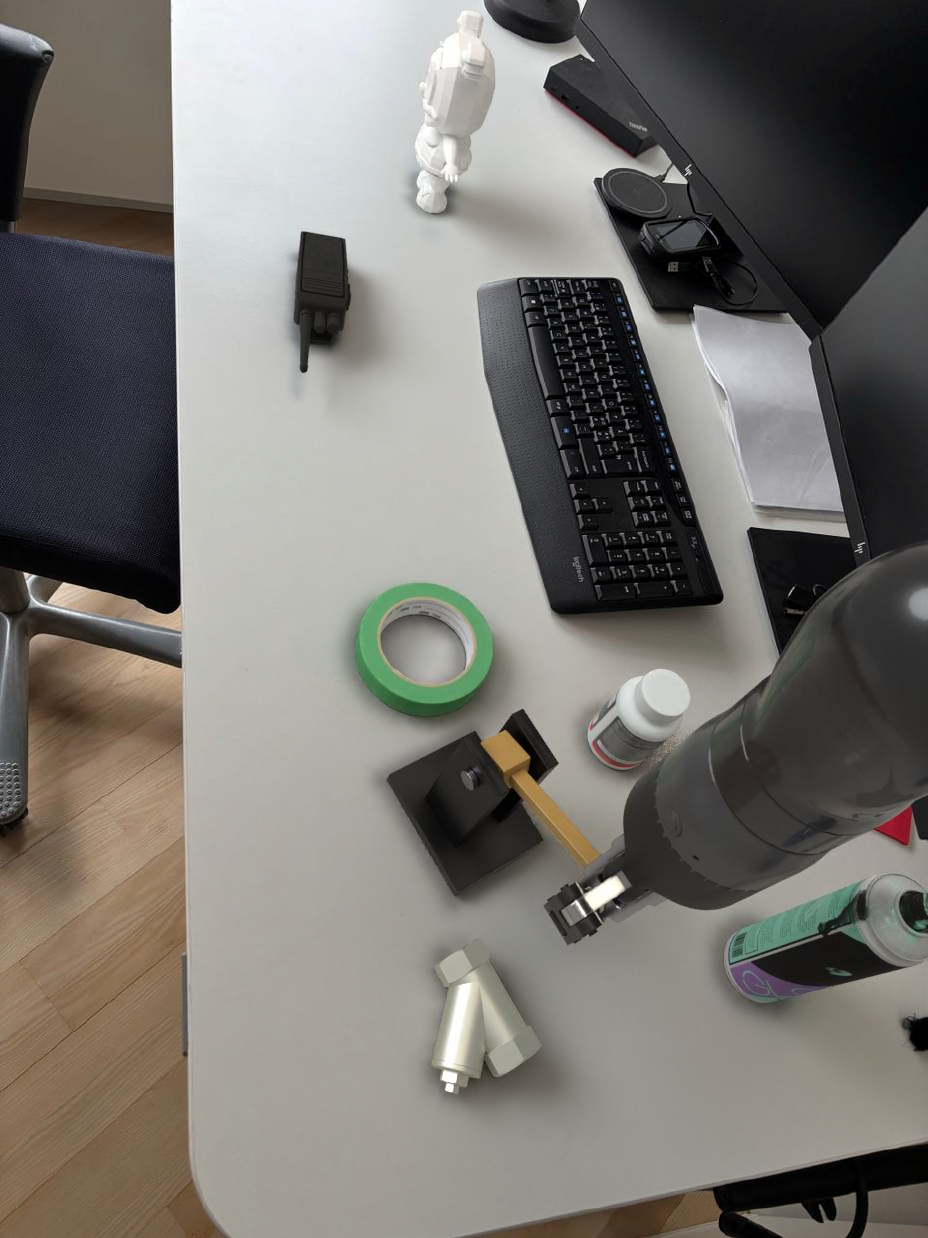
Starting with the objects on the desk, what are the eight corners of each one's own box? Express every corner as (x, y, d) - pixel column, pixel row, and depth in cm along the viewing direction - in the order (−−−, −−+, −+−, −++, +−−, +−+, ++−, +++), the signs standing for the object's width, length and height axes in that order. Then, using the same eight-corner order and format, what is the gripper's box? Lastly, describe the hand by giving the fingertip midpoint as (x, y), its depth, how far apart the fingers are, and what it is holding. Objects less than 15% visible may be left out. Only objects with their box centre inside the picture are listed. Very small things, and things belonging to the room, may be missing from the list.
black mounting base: (539, 844, 71) (601, 789, 60) (454, 896, 67) (503, 847, 56) (471, 735, 74) (518, 665, 63) (386, 779, 70) (420, 712, 59)
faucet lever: (646, 884, 56) (654, 863, 55) (585, 925, 54) (591, 905, 52) (518, 742, 64) (522, 720, 62) (459, 774, 62) (461, 752, 60)
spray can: (737, 1010, 68) (914, 964, 51) (713, 934, 70) (875, 866, 54) (799, 996, 70) (990, 947, 53) (773, 922, 72) (949, 854, 55)
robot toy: (397, 246, 100) (436, 72, 84) (398, 134, 110) (432, -41, 94) (463, 258, 102) (514, 90, 86) (458, 147, 112) (503, -22, 96)
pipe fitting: (448, 1107, 60) (531, 1049, 63) (459, 1108, 57) (546, 1046, 60) (389, 995, 63) (471, 943, 65) (396, 989, 59) (482, 935, 62)
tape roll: (361, 719, 72) (366, 706, 70) (348, 598, 77) (353, 581, 75) (495, 713, 75) (504, 700, 73) (474, 597, 80) (482, 581, 78)
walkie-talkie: (364, 251, 95) (366, 381, 84) (317, 280, 98) (313, 410, 86) (327, 205, 91) (323, 335, 80) (278, 237, 93) (269, 367, 82)
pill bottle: (653, 767, 76) (709, 721, 68) (595, 774, 75) (644, 728, 66) (635, 708, 79) (686, 657, 70) (578, 714, 77) (624, 662, 69)
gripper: (671, 963, 38) (543, 1016, 52) (883, 806, 44) (718, 891, 59) (569, 808, 40) (474, 899, 55) (785, 680, 47) (649, 792, 61)
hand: (601, 895), depth 57 cm, fingers closed on faucet lever, 5 cm apart
